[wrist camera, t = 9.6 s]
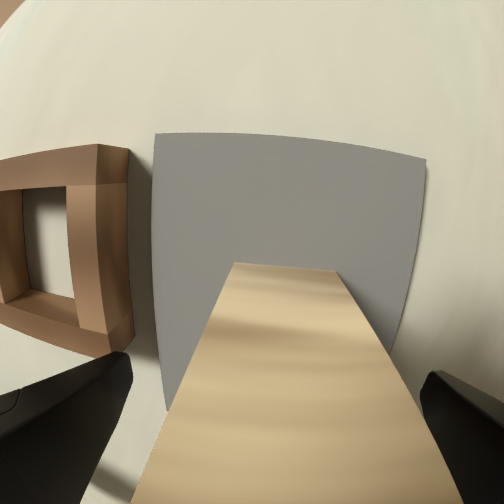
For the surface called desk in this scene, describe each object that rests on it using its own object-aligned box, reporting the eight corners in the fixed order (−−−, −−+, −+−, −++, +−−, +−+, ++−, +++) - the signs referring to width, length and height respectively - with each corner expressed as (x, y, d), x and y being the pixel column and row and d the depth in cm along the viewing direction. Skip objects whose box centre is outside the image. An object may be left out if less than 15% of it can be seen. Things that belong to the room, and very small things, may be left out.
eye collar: (134, 336, 13) (113, 363, 11) (22, 306, 14) (-3, 321, 11) (128, 148, 11) (97, 143, 9) (8, 163, 11) (-22, 165, 9)
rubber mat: (359, 417, 14) (361, 424, 13) (169, 404, 14) (166, 411, 14) (419, 159, 10) (426, 159, 10) (160, 135, 11) (155, 133, 10)
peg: (318, 354, 12) (359, 575, 2) (229, 348, 12) (173, 572, 3) (334, 270, 11) (466, 512, 1) (234, 262, 11) (121, 525, 2)
